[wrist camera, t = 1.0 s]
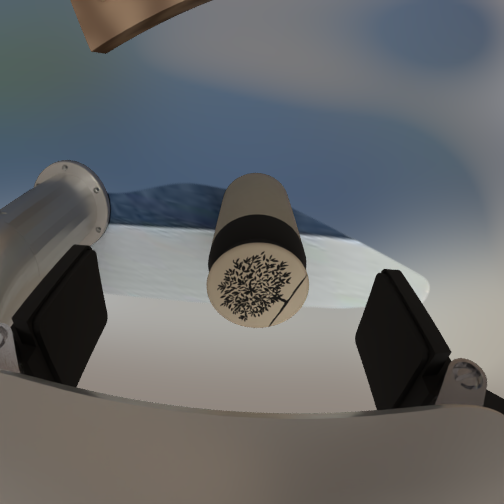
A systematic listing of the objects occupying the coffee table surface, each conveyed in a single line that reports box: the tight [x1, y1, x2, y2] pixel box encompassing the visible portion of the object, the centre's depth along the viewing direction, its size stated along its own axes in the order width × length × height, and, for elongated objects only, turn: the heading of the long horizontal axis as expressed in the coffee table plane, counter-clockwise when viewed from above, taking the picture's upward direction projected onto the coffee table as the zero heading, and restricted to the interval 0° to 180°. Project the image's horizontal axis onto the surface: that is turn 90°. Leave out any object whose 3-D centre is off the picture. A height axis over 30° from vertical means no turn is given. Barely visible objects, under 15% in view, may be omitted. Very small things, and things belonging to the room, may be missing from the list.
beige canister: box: [207, 173, 309, 328], centre depth 31 cm, size 8×8×18 cm
